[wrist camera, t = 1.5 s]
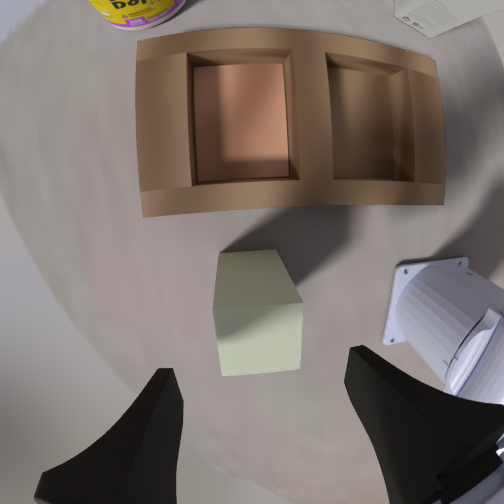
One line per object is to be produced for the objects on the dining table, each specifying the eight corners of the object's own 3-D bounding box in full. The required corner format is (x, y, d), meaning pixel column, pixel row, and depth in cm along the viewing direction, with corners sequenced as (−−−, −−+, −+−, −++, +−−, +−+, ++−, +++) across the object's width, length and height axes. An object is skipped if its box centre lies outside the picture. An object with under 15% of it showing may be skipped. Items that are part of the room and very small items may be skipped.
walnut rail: (411, 69, 16) (435, 60, 13) (418, 198, 19) (443, 205, 16) (151, 58, 15) (137, 41, 12) (157, 208, 18) (143, 217, 15)
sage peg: (275, 249, 20) (303, 302, 12) (276, 299, 21) (299, 368, 13) (218, 253, 20) (212, 309, 12) (223, 303, 21) (222, 375, 13)
